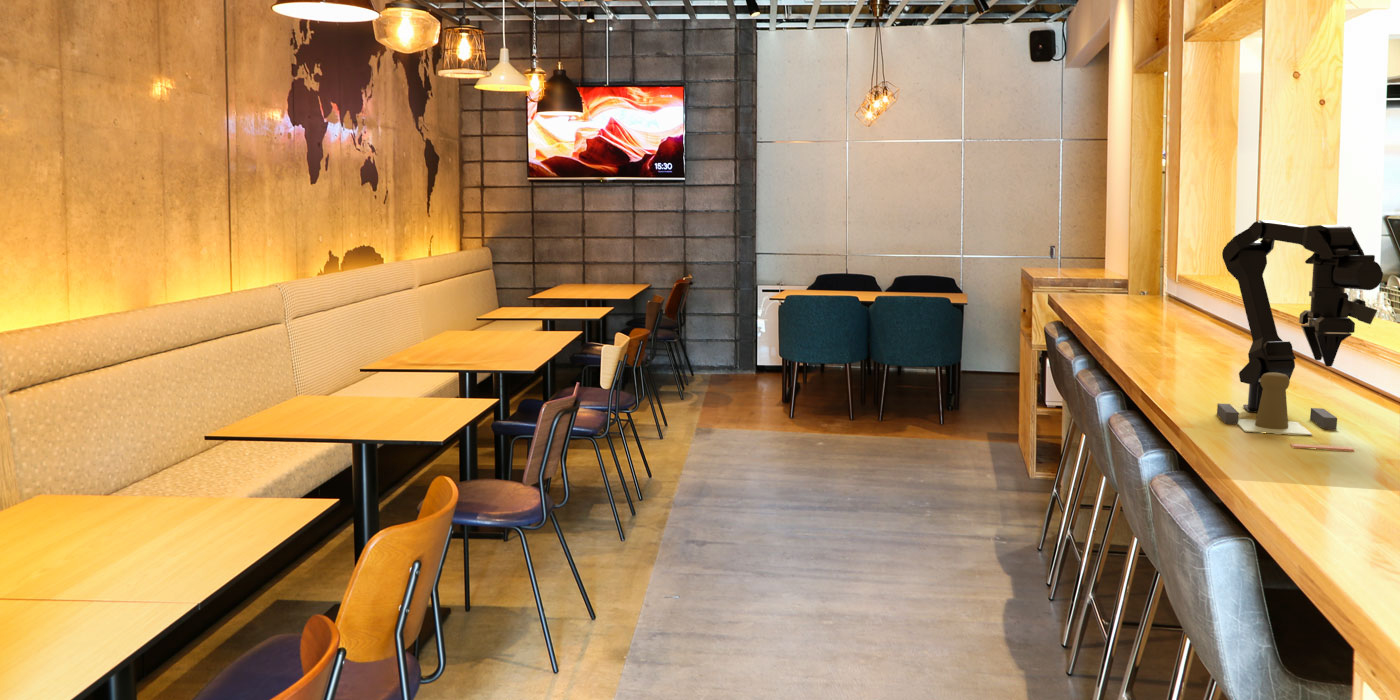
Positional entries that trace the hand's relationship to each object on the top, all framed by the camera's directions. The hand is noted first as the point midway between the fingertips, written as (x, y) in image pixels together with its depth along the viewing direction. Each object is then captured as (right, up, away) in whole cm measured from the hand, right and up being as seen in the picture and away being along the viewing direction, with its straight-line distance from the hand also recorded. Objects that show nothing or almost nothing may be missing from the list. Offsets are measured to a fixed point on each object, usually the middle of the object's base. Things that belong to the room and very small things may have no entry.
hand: (1323, 363), depth 210 cm
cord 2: (+2, -13, +4) cm, 13 cm away
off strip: (-11, -16, -17) cm, 26 cm away
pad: (-11, -13, 0) cm, 17 cm away
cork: (-11, -13, 0) cm, 17 cm away
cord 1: (-15, -12, +9) cm, 21 cm away
